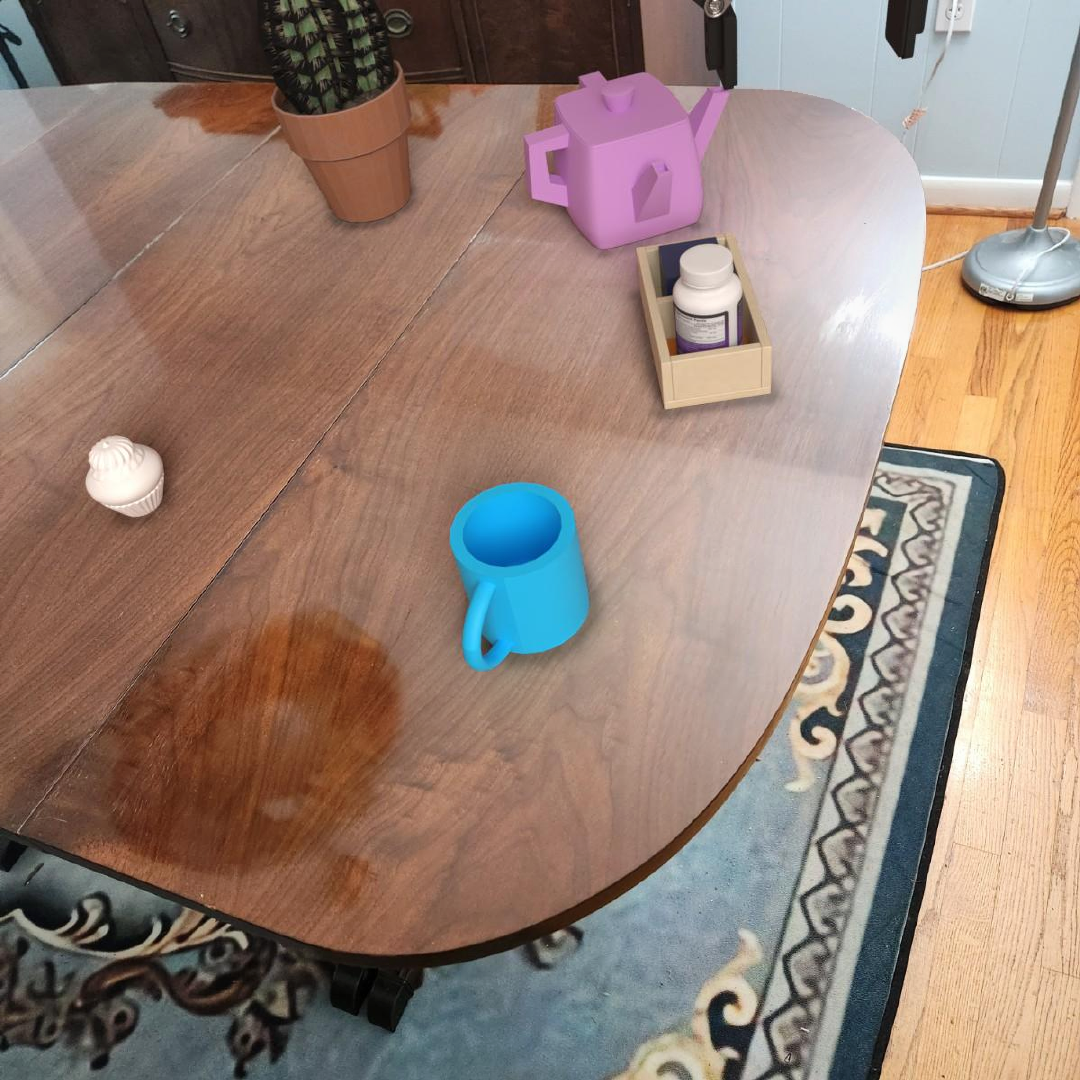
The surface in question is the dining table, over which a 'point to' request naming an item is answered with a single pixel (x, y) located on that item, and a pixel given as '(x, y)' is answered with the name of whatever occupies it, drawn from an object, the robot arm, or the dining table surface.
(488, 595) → the mug
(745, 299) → the sorter
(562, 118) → the teakettle
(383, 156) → the potted plant
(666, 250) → the navy block
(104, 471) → the muffin
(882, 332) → the dining table surface
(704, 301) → the pill bottle
